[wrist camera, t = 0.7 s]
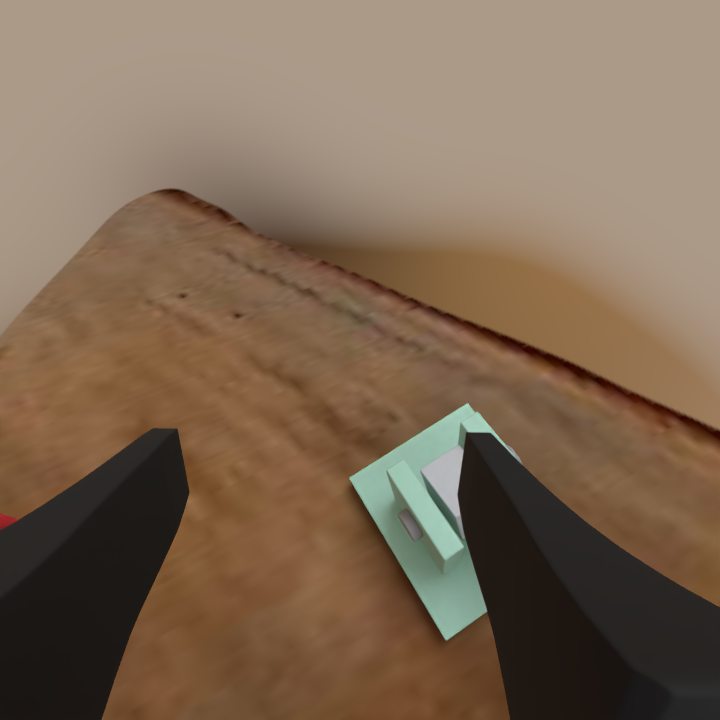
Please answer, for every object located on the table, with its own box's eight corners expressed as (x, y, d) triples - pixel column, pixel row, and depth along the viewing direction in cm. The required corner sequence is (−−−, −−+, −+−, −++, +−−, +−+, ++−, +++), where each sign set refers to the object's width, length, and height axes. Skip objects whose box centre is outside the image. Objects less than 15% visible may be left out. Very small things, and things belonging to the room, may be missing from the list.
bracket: (576, 546, 24) (616, 521, 19) (445, 640, 23) (448, 642, 17) (466, 411, 28) (473, 358, 23) (352, 483, 27) (330, 445, 22)
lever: (654, 679, 17) (670, 660, 15) (587, 732, 16) (594, 721, 14) (471, 468, 24) (464, 435, 22) (422, 501, 24) (410, 470, 21)
